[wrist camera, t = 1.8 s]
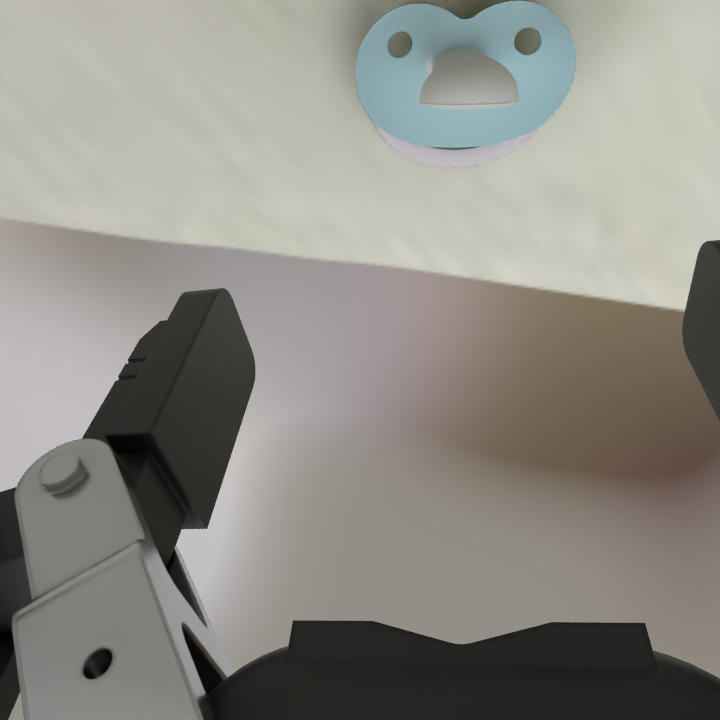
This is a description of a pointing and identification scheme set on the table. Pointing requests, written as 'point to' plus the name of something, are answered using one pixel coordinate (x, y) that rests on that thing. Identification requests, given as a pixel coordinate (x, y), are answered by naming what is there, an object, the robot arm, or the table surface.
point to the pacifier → (463, 81)
